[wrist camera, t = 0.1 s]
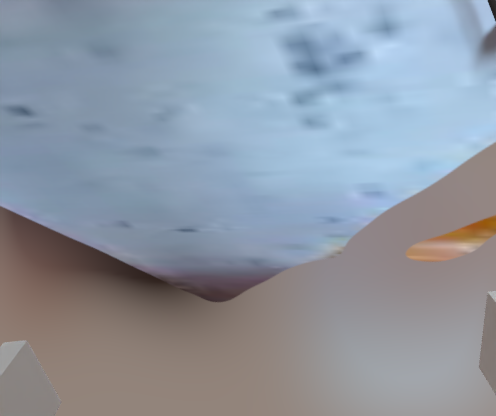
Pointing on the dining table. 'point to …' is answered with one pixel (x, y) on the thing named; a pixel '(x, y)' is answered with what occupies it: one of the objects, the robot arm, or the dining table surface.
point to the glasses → (493, 7)
